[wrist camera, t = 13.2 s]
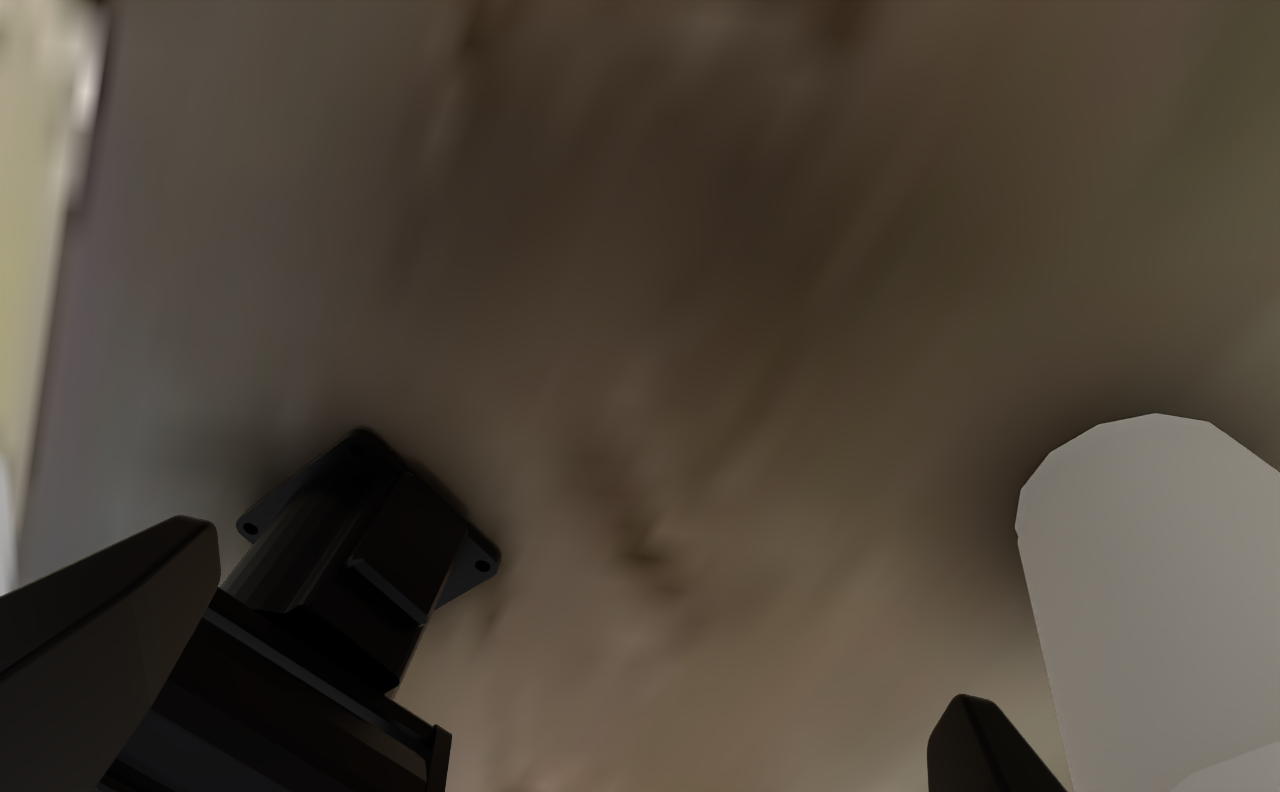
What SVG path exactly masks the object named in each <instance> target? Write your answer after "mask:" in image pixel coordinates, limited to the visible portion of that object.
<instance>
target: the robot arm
mask: <svg viewBox="0 0 1280 792" xmlns="http://www.w3.org/2000/svg"><path fill="white" fill-rule="evenodd" d="M355 443H358V444H361V445H362V446H363V447H364V448H365V450H363V449H360V448H359V447H357V445H356V444H355ZM253 524H254V525H256V526H254V525H253ZM236 528H237V530H238V532H239V533H240V534H241V535H242V536H243V537H245V538H246V539H247V540H248V541H249V542H251V543H252V544H253V546H252V547H251V548H250V550H249V551H248V552H247V553H246V555H245V556H244V557H243V558H242V560H241V561H240V562H239V564H238V565H237V566H236V567H235V569H234V570H233V571H232V572H231V574H230V575H229V576H228V578H227V579H226V580H225V581H224V583H223V584H222V585H221V586H220V588H219V587H218V584H219V581H220V575H221V567H220V557H219V547H218V537H217V530H216V527H215V526H214V524H213V523H211V522H209V521H206V520H202V519H198V518H193V517H189V516H184V515H178V516H174V517H171V518H169V519H167V520H165V521H162V522H160V523H158V524H156V525H154V526H152V527H150V528H147V529H145V530H143V531H141V532H139V533H137V534H134V535H132V536H130V537H128V538H126V539H124V540H121V541H119V542H117V543H115V544H113V545H111V546H108V547H106V548H104V549H102V550H100V551H98V552H95V553H93V554H91V555H89V556H87V557H85V558H83V559H80V560H78V561H76V562H74V563H72V564H70V565H67V566H65V567H63V568H61V569H59V570H57V571H54V572H52V573H50V574H48V575H46V576H44V577H41V578H39V579H37V580H35V581H33V582H31V583H29V584H26V585H24V586H22V587H20V588H18V589H16V590H13V591H11V592H9V593H7V594H5V595H3V596H0V792H445V786H446V778H447V771H448V764H449V756H450V749H451V741H452V734H451V733H449V732H447V731H446V730H444V729H443V728H441V727H440V726H438V725H437V724H435V725H433V726H432V725H430V724H429V723H427V722H426V721H424V720H422V719H421V718H419V717H418V716H416V715H415V714H413V713H412V712H410V711H409V710H407V709H406V708H404V707H402V706H401V705H399V704H398V703H396V702H395V701H393V700H394V698H395V695H396V693H397V691H398V689H399V686H400V684H401V682H402V680H403V678H404V675H405V673H406V671H407V669H408V666H409V664H410V662H411V660H412V658H413V655H414V653H415V651H416V649H417V647H418V644H419V642H420V640H421V638H422V635H423V633H424V631H425V629H426V627H427V624H428V622H429V620H430V618H431V615H432V613H433V611H434V610H435V609H437V608H439V607H441V606H442V605H444V604H446V603H447V602H449V601H451V600H453V599H454V598H456V597H458V596H459V595H461V594H463V593H465V592H466V591H468V590H470V589H471V588H473V587H475V586H477V585H478V584H480V583H482V582H484V581H485V580H487V579H489V578H490V577H492V576H494V575H495V574H496V573H497V570H498V568H499V565H500V562H501V558H500V555H499V554H498V552H497V551H496V550H495V549H494V548H493V547H492V546H490V545H489V544H488V543H487V542H486V541H485V540H484V539H483V538H482V537H481V536H480V535H479V534H478V533H477V532H476V531H475V530H474V529H472V528H471V527H470V526H469V525H468V524H467V523H466V522H465V521H464V520H463V519H462V518H461V517H460V516H459V515H458V514H457V513H456V512H454V511H453V510H452V509H451V508H450V507H449V506H448V505H447V504H446V503H445V502H444V501H443V500H442V499H441V498H440V497H439V496H438V495H436V494H435V493H434V492H433V491H432V490H431V489H430V488H429V487H428V486H427V485H426V484H425V483H424V482H423V481H422V480H421V479H420V478H418V477H417V476H416V475H415V474H414V473H413V472H412V471H411V470H410V469H409V468H408V467H407V466H406V465H405V464H404V463H403V462H402V461H400V460H399V459H398V458H397V457H396V456H395V455H394V454H393V453H392V452H391V451H390V450H389V449H388V448H387V447H386V446H385V445H384V444H382V443H381V442H380V441H379V440H378V439H377V438H376V437H375V436H374V435H373V434H371V433H370V432H368V431H366V430H363V429H355V430H353V431H351V432H349V433H348V434H347V435H346V436H344V437H343V438H342V439H340V440H339V441H338V442H336V443H335V444H334V445H332V446H331V447H330V448H328V449H327V450H326V451H324V452H323V453H322V454H320V455H319V456H318V457H316V458H315V459H314V460H312V461H311V462H310V463H308V464H307V465H306V466H304V467H303V468H302V469H300V470H299V471H298V472H296V473H295V474H294V475H292V476H291V477H290V478H289V479H287V480H286V481H285V482H283V483H282V484H281V485H279V486H278V487H277V488H275V489H274V490H273V491H271V492H270V493H269V494H267V495H266V496H265V497H263V498H262V499H261V500H259V501H258V502H257V503H255V504H254V505H253V506H251V507H250V508H249V509H247V510H246V511H245V512H244V513H243V514H242V516H241V517H240V518H239V519H238V520H237V522H236ZM480 560H484V561H486V562H488V563H489V564H486V563H483V562H481V561H480ZM927 768H928V788H929V792H1067V790H1066V789H1065V788H1064V787H1063V786H1062V784H1061V783H1060V782H1059V781H1058V779H1057V778H1056V777H1055V776H1054V774H1053V773H1052V772H1051V771H1050V770H1049V768H1048V767H1047V766H1046V765H1045V763H1044V762H1043V761H1042V760H1041V758H1040V757H1039V756H1038V755H1037V754H1036V752H1035V751H1034V750H1033V749H1032V747H1031V746H1030V745H1029V744H1028V742H1027V741H1026V740H1025V739H1024V738H1023V736H1022V735H1021V734H1020V733H1019V731H1018V730H1017V729H1016V728H1015V727H1014V725H1013V724H1012V723H1011V722H1010V720H1009V719H1008V718H1007V717H1006V715H1005V714H1004V713H1003V712H1002V711H1001V709H1000V708H999V707H998V706H997V705H996V704H995V703H994V702H992V701H990V700H988V699H983V698H979V697H975V696H970V695H966V694H959V695H957V696H955V697H954V698H953V699H952V700H951V702H950V704H949V705H948V707H947V708H946V710H945V712H944V713H943V715H942V717H941V718H940V720H939V721H938V723H937V725H936V726H935V728H934V730H933V731H932V733H931V735H930V738H929V741H928V746H927Z"/></svg>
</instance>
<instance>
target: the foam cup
mask: <svg viewBox="0 0 1280 792" xmlns="http://www.w3.org/2000/svg"><path fill="white" fill-rule="evenodd" d="M1015 530H1016V532H1017V535H1018V542H1017V544H1018V548H1019V552H1020V557H1021V561H1022V565H1023V570H1024V574H1025V579H1026V583H1027V587H1028V592H1029V596H1030V601H1031V605H1032V609H1033V614H1034V618H1035V623H1036V627H1037V631H1038V636H1039V640H1040V645H1041V649H1042V653H1043V658H1044V662H1045V667H1046V671H1047V675H1048V680H1049V684H1050V689H1051V693H1052V697H1053V702H1054V706H1055V711H1056V715H1057V719H1058V724H1059V728H1060V733H1061V737H1062V741H1063V746H1064V750H1065V755H1066V759H1067V763H1068V768H1069V772H1070V777H1071V781H1072V785H1073V790H1074V792H1280V472H1278V471H1277V470H1275V469H1274V468H1273V467H1271V466H1270V465H1269V464H1267V463H1266V462H1265V461H1263V460H1262V459H1260V458H1259V457H1258V456H1256V455H1255V454H1254V453H1252V452H1251V451H1249V450H1248V449H1247V448H1245V447H1244V446H1243V445H1241V444H1240V443H1238V442H1237V441H1236V440H1234V439H1233V438H1231V437H1230V436H1229V435H1227V434H1226V433H1225V432H1222V431H1221V430H1220V429H1218V428H1217V427H1215V426H1214V425H1213V424H1211V423H1210V422H1208V421H1202V420H1195V419H1189V418H1183V417H1177V416H1170V415H1164V414H1158V413H1153V414H1148V415H1143V416H1138V417H1133V418H1128V419H1123V420H1118V421H1113V422H1108V423H1103V424H1098V425H1096V426H1095V427H1093V428H1091V429H1089V430H1088V431H1086V432H1084V433H1082V434H1081V435H1079V436H1077V437H1076V438H1074V439H1072V440H1070V441H1069V442H1067V443H1065V444H1064V445H1062V446H1060V447H1058V448H1057V449H1055V450H1053V451H1051V452H1050V453H1049V454H1048V456H1047V457H1046V458H1045V459H1044V461H1043V462H1042V463H1041V464H1040V466H1039V467H1038V468H1037V470H1036V471H1035V472H1034V473H1033V475H1032V476H1031V477H1030V478H1029V480H1028V481H1027V482H1026V484H1025V485H1024V486H1023V487H1022V489H1021V491H1020V498H1019V504H1018V510H1017V516H1016V522H1015Z"/></svg>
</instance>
